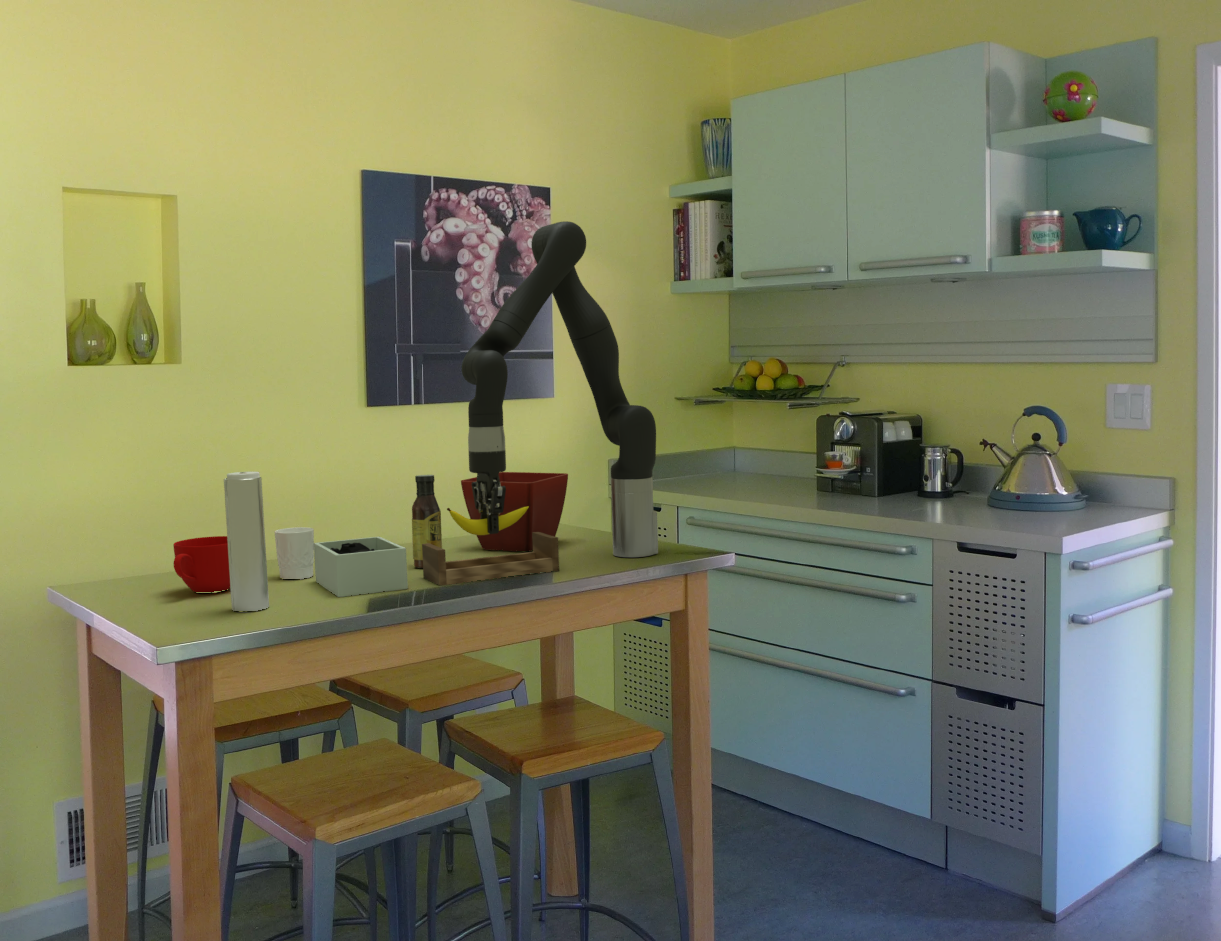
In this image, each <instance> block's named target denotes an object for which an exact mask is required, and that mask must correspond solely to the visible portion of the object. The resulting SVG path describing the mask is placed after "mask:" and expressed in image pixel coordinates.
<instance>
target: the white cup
mask: <svg viewBox="0 0 1221 941" xmlns="http://www.w3.org/2000/svg"><path fill="white" fill-rule="evenodd" d="M314 531H315V529H314V528H313V527H309V526H308V527H304V526H303V527H301V526H300V527H297V526H296V527H286V528H280V529H276V530H274V538H275V539H274V540H275V550H276V558H277V566H278V569H279V570H278V571H279V579H280V578H283V579H300V580H304V578H307V579H310V577H311V578H313V577H314V564H315V557H314V543H315V541H314V540H315V539H314V538H315V535H314V534H315V532H314ZM312 576H313V577H312ZM283 579H282V580H283Z"/></svg>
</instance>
